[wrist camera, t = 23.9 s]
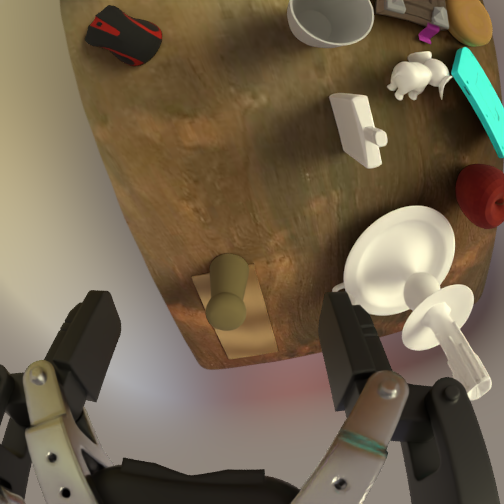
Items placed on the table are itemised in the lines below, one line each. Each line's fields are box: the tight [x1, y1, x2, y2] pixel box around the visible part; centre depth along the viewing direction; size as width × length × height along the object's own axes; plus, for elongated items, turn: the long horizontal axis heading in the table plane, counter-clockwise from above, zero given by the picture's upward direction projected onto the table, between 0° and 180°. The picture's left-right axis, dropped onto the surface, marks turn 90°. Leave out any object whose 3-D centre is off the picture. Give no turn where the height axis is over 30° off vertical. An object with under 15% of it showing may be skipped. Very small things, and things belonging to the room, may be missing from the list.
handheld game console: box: [451, 47, 504, 158], centre depth 28 cm, size 10×16×1 cm, turn 52°
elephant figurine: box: [387, 51, 453, 100], centre depth 28 cm, size 7×12×6 cm
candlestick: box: [332, 206, 492, 400], centre depth 33 cm, size 21×25×28 cm
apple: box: [455, 164, 504, 229], centre depth 34 cm, size 10×10×10 cm
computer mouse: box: [85, 5, 162, 66], centre depth 25 cm, size 6×11×4 cm, turn 52°
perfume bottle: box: [329, 93, 387, 168], centre depth 29 cm, size 8×2×12 cm, turn 19°
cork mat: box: [191, 263, 278, 359], centre depth 51 cm, size 21×10×1 cm, turn 13°
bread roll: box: [445, 0, 492, 47], centre depth 22 cm, size 9×4×10 cm
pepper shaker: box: [206, 254, 249, 331], centre depth 41 cm, size 6×6×11 cm
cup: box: [287, 0, 374, 48], centre depth 23 cm, size 8×8×10 cm
